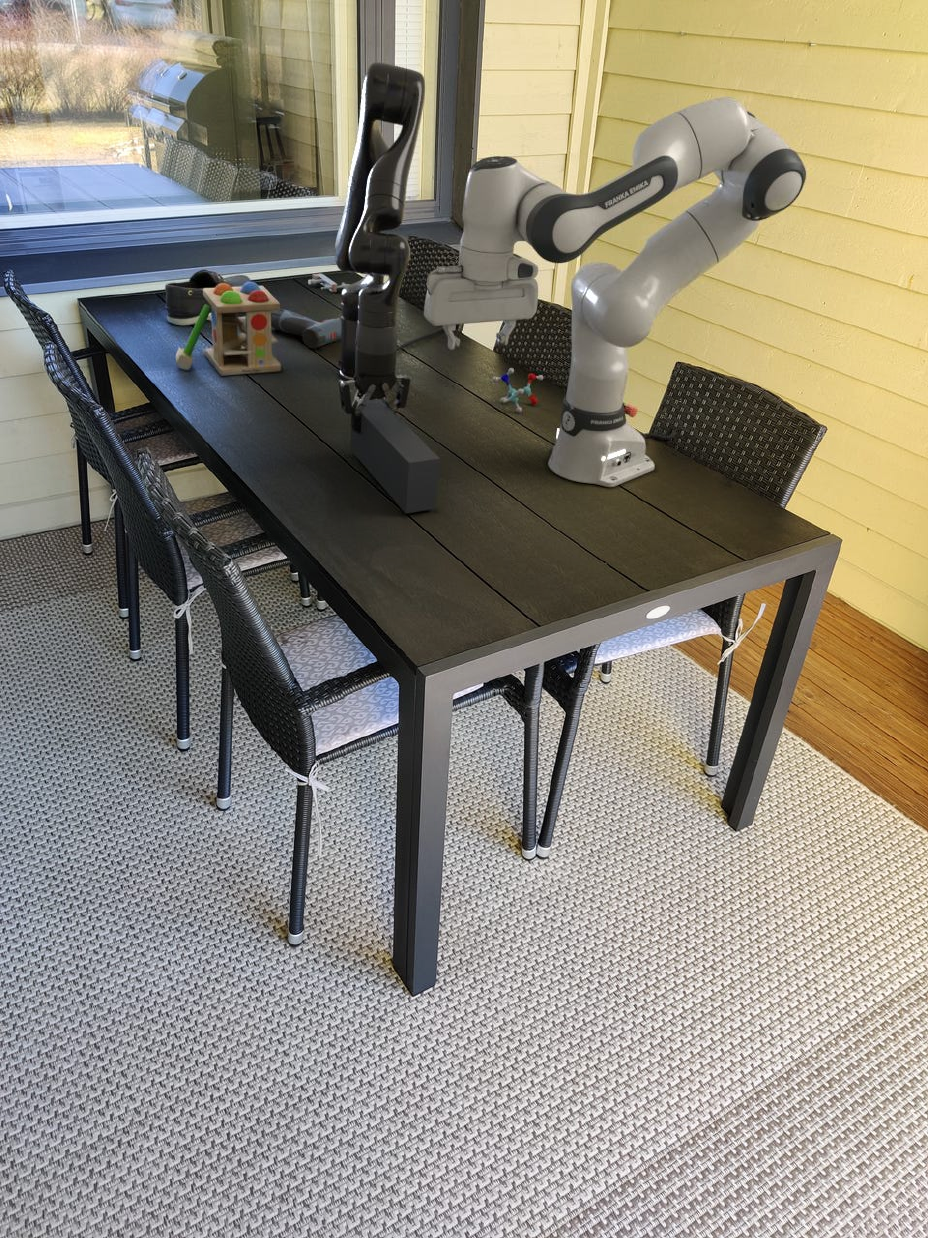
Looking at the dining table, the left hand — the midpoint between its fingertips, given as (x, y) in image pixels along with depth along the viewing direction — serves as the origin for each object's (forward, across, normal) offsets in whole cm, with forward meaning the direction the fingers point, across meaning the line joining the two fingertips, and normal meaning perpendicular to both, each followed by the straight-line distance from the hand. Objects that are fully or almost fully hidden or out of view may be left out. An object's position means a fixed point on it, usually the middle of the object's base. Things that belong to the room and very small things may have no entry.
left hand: (373, 429), depth 190 cm
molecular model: (+7, +42, +18) cm, 47 cm away
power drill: (+8, +14, +74) cm, 76 cm away
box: (+6, 0, -10) cm, 11 cm away
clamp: (+8, +32, +111) cm, 116 cm away
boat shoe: (+8, -6, +99) cm, 99 cm away
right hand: (-22, +11, -18) cm, 31 cm away
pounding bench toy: (+8, -13, +58) cm, 60 cm away
